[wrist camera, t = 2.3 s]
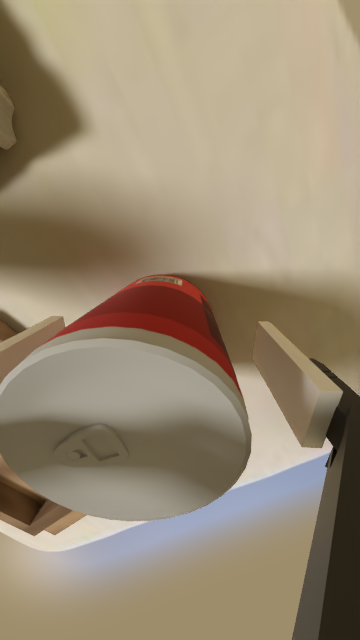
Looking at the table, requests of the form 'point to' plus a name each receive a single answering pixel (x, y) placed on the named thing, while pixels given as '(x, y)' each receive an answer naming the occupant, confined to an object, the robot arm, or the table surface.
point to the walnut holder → (29, 495)
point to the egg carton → (6, 120)
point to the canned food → (129, 408)
